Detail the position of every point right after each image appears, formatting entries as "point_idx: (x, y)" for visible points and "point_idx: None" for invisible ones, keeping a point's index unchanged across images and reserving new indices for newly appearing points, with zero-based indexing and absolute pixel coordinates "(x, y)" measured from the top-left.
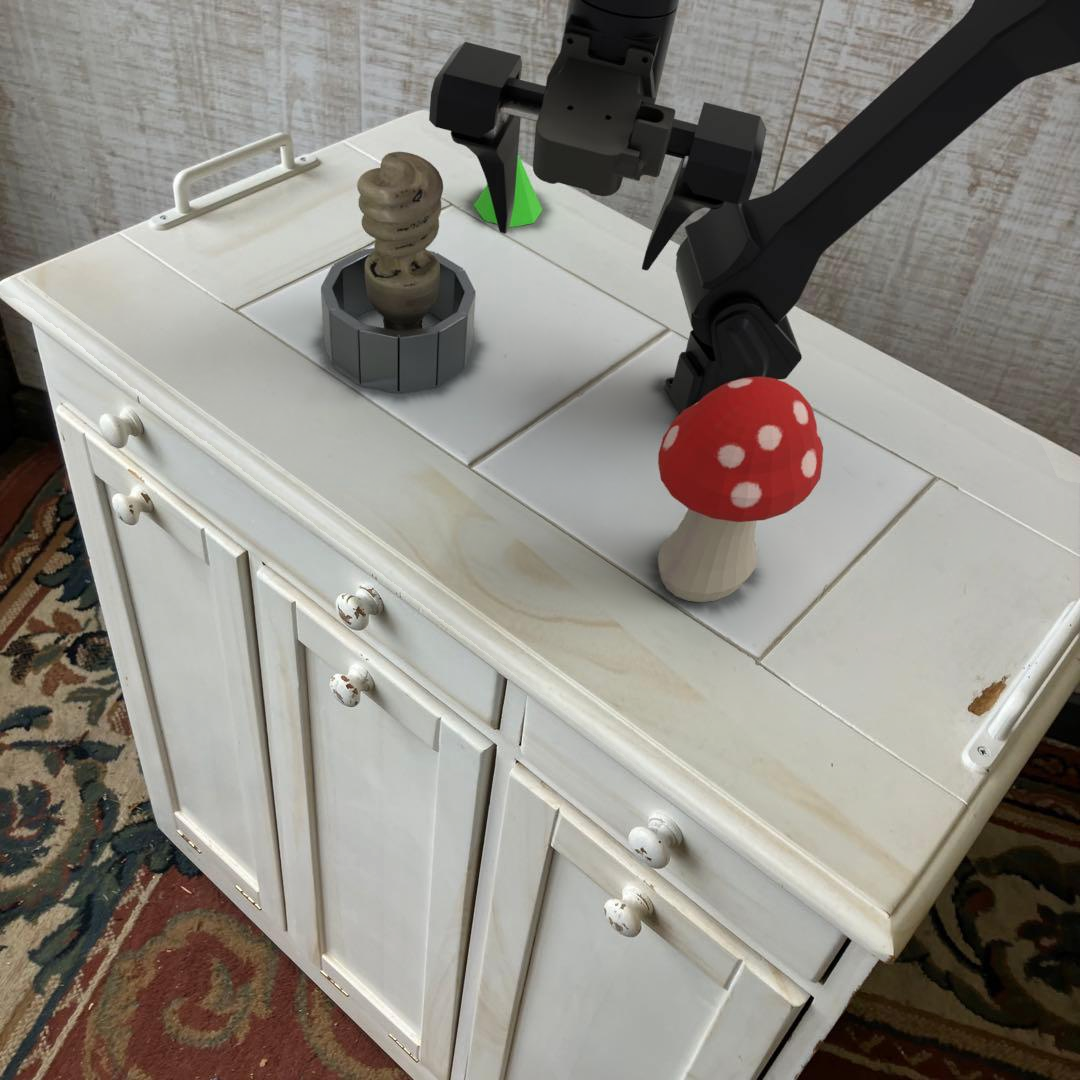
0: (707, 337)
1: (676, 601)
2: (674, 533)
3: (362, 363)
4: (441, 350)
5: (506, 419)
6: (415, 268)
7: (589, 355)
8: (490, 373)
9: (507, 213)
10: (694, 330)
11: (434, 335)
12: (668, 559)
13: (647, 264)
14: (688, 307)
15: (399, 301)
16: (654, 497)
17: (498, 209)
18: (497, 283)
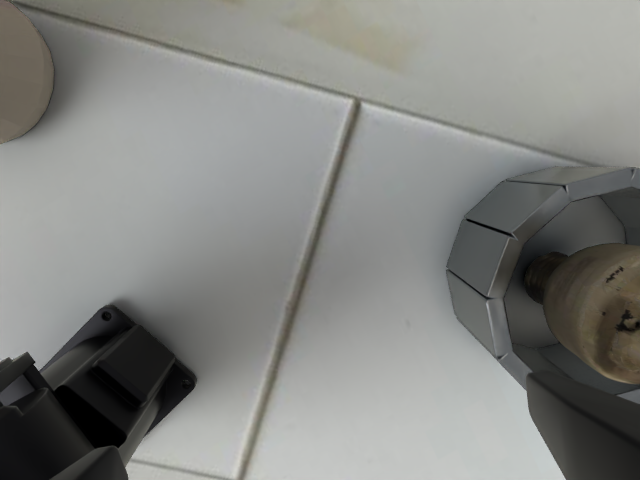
0: (29, 397)
1: None
2: (6, 51)
3: (580, 167)
4: (487, 234)
5: (353, 211)
6: (623, 323)
7: (310, 382)
8: (411, 282)
9: (572, 410)
10: (44, 393)
11: (512, 228)
12: (4, 14)
13: (85, 458)
14: (54, 434)
15: (605, 252)
16: (118, 176)
17: (615, 405)
18: (478, 447)
